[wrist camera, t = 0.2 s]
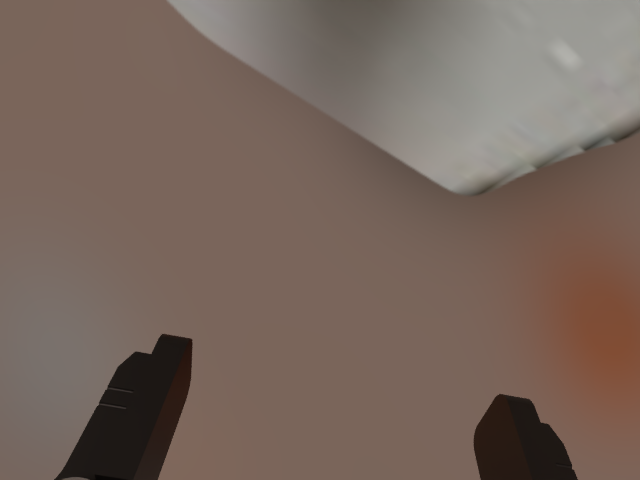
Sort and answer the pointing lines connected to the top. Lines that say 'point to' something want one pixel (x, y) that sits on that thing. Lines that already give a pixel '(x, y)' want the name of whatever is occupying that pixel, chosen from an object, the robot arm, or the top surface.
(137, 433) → the robot arm
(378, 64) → the top surface
